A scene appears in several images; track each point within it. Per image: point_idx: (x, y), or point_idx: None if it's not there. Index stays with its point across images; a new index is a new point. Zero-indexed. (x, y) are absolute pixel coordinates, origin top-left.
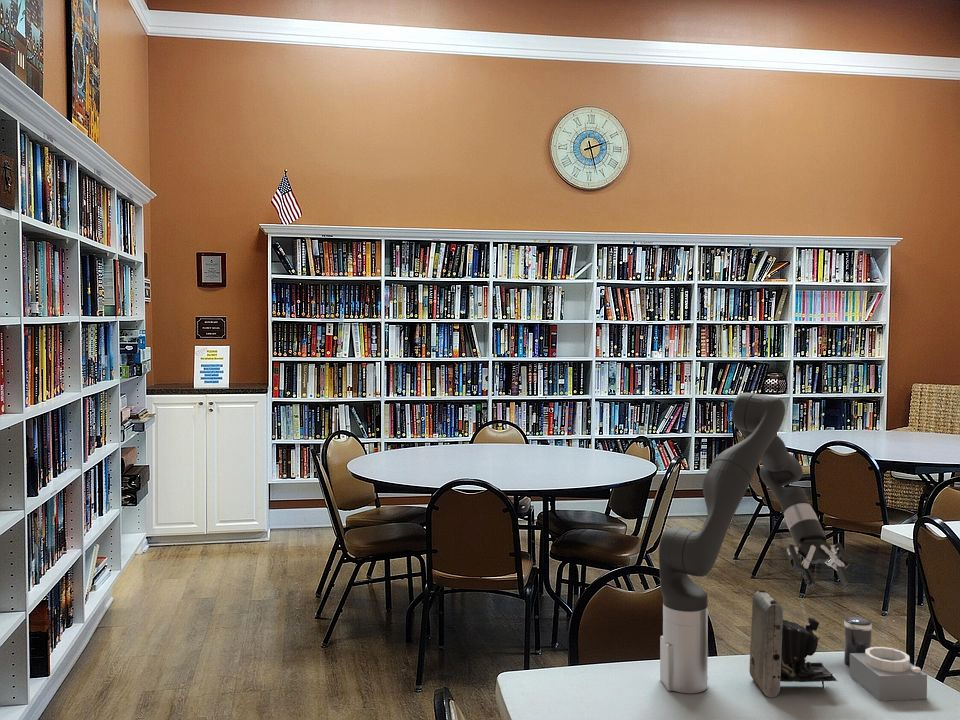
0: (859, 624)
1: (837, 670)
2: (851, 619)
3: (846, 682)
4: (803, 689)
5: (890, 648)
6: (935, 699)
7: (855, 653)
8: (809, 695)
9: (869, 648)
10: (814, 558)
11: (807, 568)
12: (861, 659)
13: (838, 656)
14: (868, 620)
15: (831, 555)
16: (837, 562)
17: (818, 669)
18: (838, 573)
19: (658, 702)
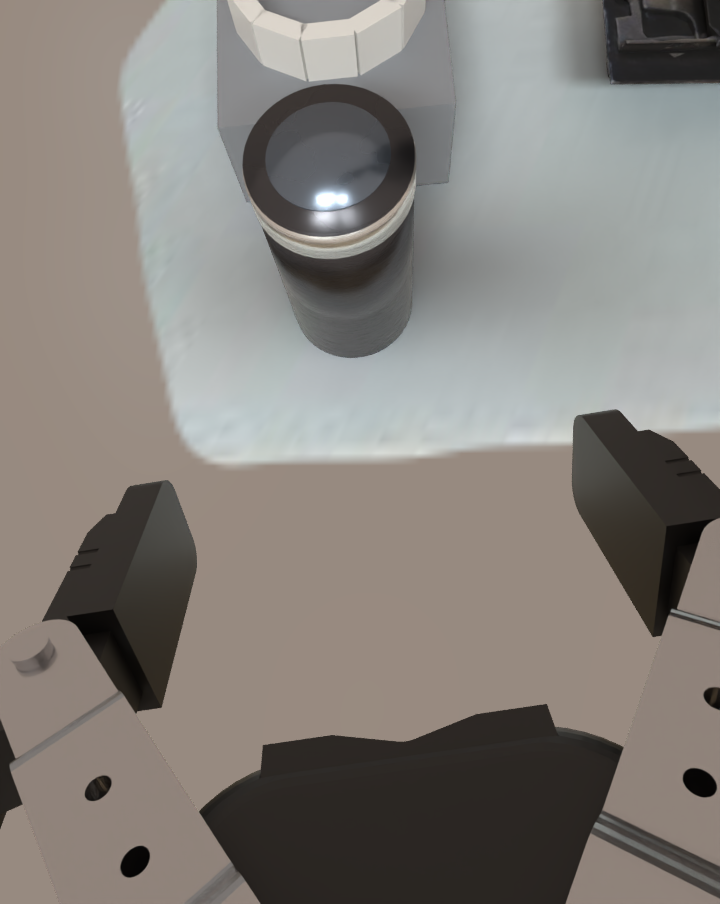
0: (354, 87)
1: (477, 237)
2: (366, 168)
3: (487, 125)
4: None
5: (265, 21)
6: (213, 10)
7: (426, 102)
8: None
9: (377, 16)
10: (561, 728)
11: (711, 526)
12: (429, 37)
13: (404, 395)
14: (255, 159)
15: (126, 773)
16: (90, 682)
17: (647, 28)
18: (159, 651)
19: None
